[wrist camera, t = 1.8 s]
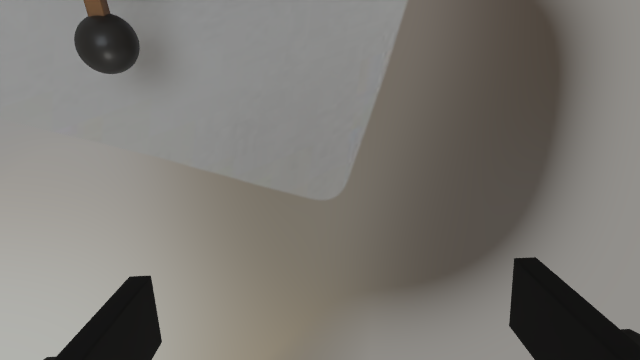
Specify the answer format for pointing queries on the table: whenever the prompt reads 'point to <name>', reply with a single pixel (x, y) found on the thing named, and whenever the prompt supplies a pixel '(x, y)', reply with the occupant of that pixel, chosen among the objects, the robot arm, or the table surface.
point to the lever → (105, 40)
